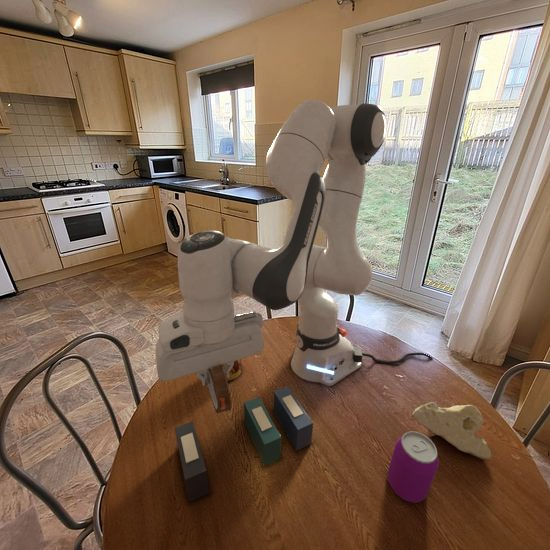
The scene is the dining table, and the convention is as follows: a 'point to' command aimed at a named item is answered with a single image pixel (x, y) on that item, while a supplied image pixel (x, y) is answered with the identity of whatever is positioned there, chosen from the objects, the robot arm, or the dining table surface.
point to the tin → (219, 389)
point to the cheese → (454, 426)
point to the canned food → (235, 370)
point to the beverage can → (413, 466)
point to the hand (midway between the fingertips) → (215, 379)
